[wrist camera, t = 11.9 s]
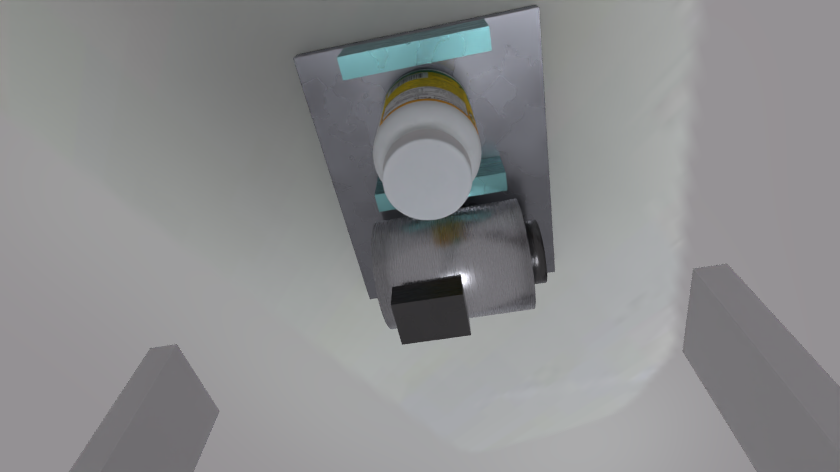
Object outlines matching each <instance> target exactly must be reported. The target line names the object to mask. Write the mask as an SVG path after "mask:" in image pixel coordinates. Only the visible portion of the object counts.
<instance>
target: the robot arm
mask: <svg viewBox="0 0 840 472" xmlns="http://www.w3.org/2000/svg"><path fill="white" fill-rule="evenodd" d="M683 353H684V354H685V356H686V358H687V359H688V361H689V362H690V364H691V366H692V367H693V369H694V371H695V372H696V374H697V376H698V377H699V379H700V380H701V382H702V384H703V385H704V387H705V389H706V390H707V392H708V393H709V395H710V397H711V398H712V400H713V401H714V403H715V405H716V406H717V408H718V410H719V411H720V413H721V414H722V416H723V418H724V419H725V421H726V423H727V424H728V426H729V427H730V429H731V431H732V432H733V434H734V436H735V437H736V439H737V440H738V442H739V444H740V445H741V447H742V449H743V450H744V452H745V453H746V455H747V457H748V458H749V460H750V462H751V463H752V465H753V466H754V468H755V470H756V471H757V472H840V387H839V385H838V384H837V383H836V382H835V381H834V380H833V379H832V378H831V377H830V376H829V374H828V373H827V372H826V371H825V370H824V369H823V368H822V367H821V366H820V365H819V364H818V362H817V361H816V360H815V359H814V358H813V357H812V356H811V355H810V354H809V353H808V352H807V350H806V349H805V348H804V347H803V346H802V345H801V344H800V343H799V342H798V341H797V339H796V338H795V337H794V336H793V335H792V334H791V333H790V332H789V331H788V330H787V329H786V327H785V326H784V325H783V324H782V323H781V322H780V321H779V320H778V319H777V318H776V316H775V315H774V314H773V313H772V312H771V311H770V310H769V309H768V308H767V307H766V306H765V305H764V303H763V302H762V301H761V300H760V299H759V298H758V297H757V296H756V295H755V293H754V292H753V291H752V290H751V289H750V288H749V287H748V286H747V285H746V284H745V283H744V281H743V280H742V279H741V278H740V277H739V276H738V275H737V274H736V273H735V272H734V271H733V269H732V268H731V267H730V266H729V265H728V264H721V265H715V266H708V267H701V268H694V269H693V273H692V281H691V289H690V297H689V305H688V313H687V320H686V328H685V336H684V344H683ZM218 413H219V409H218V408H217V406H216V405H215V403H214V402H213V400H212V399H211V397H210V395H209V394H208V392H207V391H206V389H205V388H204V386H203V384H202V383H201V381H200V380H199V378H198V377H197V375H196V373H195V372H194V370H193V369H192V367H191V366H190V364H189V362H188V361H187V359H186V358H185V356H184V355H183V353H182V351H181V350H180V348H179V347H178V345H177V344H175V345H169V346H162V347H155V348H150V350H149V351H148V352H147V354H146V356H145V357H144V359H143V360H142V362H141V363H140V365H139V366H138V368H137V369H136V371H135V372H134V374H133V375H132V377H131V378H130V380H129V381H128V383H127V385H126V386H125V387H124V389H123V391H122V392H121V394H120V395H119V397H118V398H117V400H116V401H115V403H114V404H113V406H112V407H111V409H110V410H109V412H108V414H107V415H106V416H105V418H104V419H103V421H102V422H101V424H100V426H99V427H98V429H97V430H96V432H95V433H94V435H93V436H92V438H91V439H90V441H89V442H88V444H87V445H86V447H85V449H84V450H83V451H82V453H81V454H80V456H79V458H78V459H77V461H76V462H75V464H74V465H73V467H72V468H71V470H70V471H69V472H194V470H195V467H196V465H197V463H198V460H199V458H200V456H201V453H202V451H203V448H204V446H205V444H206V442H207V439H208V437H209V435H210V432H211V430H212V428H213V425H214V423H215V420H216V418H217V416H218Z"/></svg>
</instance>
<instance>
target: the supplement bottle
mask: <svg viewBox="0 0 840 472" xmlns="http://www.w3.org/2000/svg"><path fill="white" fill-rule="evenodd" d="M373 160H374V165H375V169H376V172H377V174H378V176H379V178H380V180H381V181H382V183H383V188H384V192H385V194H386V196H387V198H388V200H389V201H390V203H391V204H392V205H393V206H394V207H395V208H396V209H397V210H398V211H400V212H401V213H403V214H404V215H406V216H409V217H411V218H414V219H419V220H436V219H441V218H444V217H446V216H448V215H450V214H452V213H454V212H455V211H457V210H458V209H459V208H460V207H461V206H462V205H463V204H464V202H465V201H466V199H467V198H468V196H469V193H470V190H471V187H472V182H473V180H474V179H475V177H476V175H477V173H478V170H479V167H480V162H481V143H480V138H479V134H478V130H477V127H476V123H475V119H474V116H473V112H472V108H471V105H470V102H469V99H468V96H467V94H466V92H465V90H464V88H463V87H462V85H461V84H460V83H459V82H458V81H457V80H456V79H455V78H454V77H452V76H451V75H449V74H447V73H445V72H442V71H439V70H435V69H419V70H415V71H411V72H409V73H407V74H405V75H403V76H402V77H400V78H399V79H398V80H397V81H396V82H395V83H394V84H393V85H392V86H391V87H390V89H389V90H388V92H387V94H386V97H385V99H384V103H383V107H382V112H381V116H380V120H379V124H378V128H377V132H376V136H375V140H374V145H373Z"/></svg>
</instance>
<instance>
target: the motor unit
mask: <svg viewBox="0 0 840 472" xmlns="http://www.w3.org/2000/svg"><path fill="white" fill-rule="evenodd" d="M293 60H294V63H295V66H296V69H297V72H298V75H299V78H300V82H301V85H302V88H303V91H304V94H305V97H306V100H307V103H308V107H309V110H310V113H311V116H312V119H313V122H314V125H315V128H316V132H317V135H318V138H319V141H320V144H321V147H322V150H323V153H324V157H325V160H326V163H327V166H328V169H329V172H330V175H331V178H332V182H333V185H334V188H335V191H336V194H337V197H338V200H339V203H340V207H341V210H342V213H343V216H344V219H345V222H346V225H347V228H348V232H349V235H350V238H351V241H352V244H353V247H354V250H355V254H356V257H357V260H358V263H359V266H360V269H361V272H362V275H363V279H364V282H365V285H366V288H367V291H368V294H369V297H370V299H374V298H378V300H379V304H380V308H381V311H382V314H383V317H384V319H385V322H386V324H387V325H388V327H389V328H390V329H396V328H397V329H398V332H399V335H400V339H401V342H402V344H410V343H417V342H424V341H431V340H439V339H446V338H453V337H460V336H468V335H471V331H470V322H469V318H473V317H480V316H487V315H494V314H501V313H508V312H515V311H523V310H530V309H535V304H536V297H535V284H539V283H546V282H547V273H548V272H555V265H554V248H553V232H552V215H551V198H550V181H549V165H548V148H547V131H546V114H545V97H544V81H543V64H542V47H541V30H540V14H539V7H538V6H536V5H533V6H529V7H524V8H519V9H514V10H509V11H505V12H500V13H495V14H490V15H485V16H481V17H476V18H471V19H466V20H461V21H457V22H452V23H447V24H442V25H438V26H433V27H428V28H423V29H418V30H414V31H409V32H404V33H399V34H394V35H390V36H385V37H380V38H375V39H370V40H366V41H361V42H356V43H351V44H347V45H342V46H337V47H332V48H327V49H323V50H318V51H313V52H308V53H303V54H299V55H296V56H295V57H294V58H293ZM419 69H435V70H439V71H442V72H445V73H447V74H449V75H451V76H452V77H454V78H455V79H456V80H457V81H458V82H459V83H460V84H461V85H462V87H463V88H464V90H465V92H466V94H467V96H468V99H469V102H470V105H471V108H472V112H473V116H474V119H475V123H476V127H477V130H478V134H479V138H480V143H481V162H480V167H479V170H478V173H477V175H476V177H475V179H474V180H473V182H472V187H471V190H470V193H469V196H468V198H467V199H466V201H465V202H464V204H463V205H462V206H461V207H460V208H459V209H458V210H457V211H455V212H454V213H452V214H450V215H448V216H446V217H444V218H441V219H436V220H419V219H414V218H411V217H409V216H406V215H404V214H403V213H401V212H400V211H398V210H397V209H396V208H395V207H394V206H393V205H392V204H391V203H390V201H389V200H388V198H387V196H386V194H385V192H384V188H383V183H382V181H381V180H380V178H379V176H378V174H377V172H376V169H375V165H374V160H373V145H374V140H375V136H376V132H377V128H378V124H379V120H380V116H381V112H382V107H383V103H384V99H385V97H386V94H387V92H388V90H389V89H390V87H391V86H392V85H393V84H394V83H395V82H396V81H397V80H398V79H399V78H400V77H402V76H403V75H405V74H407V73H409V72H411V71H415V70H419Z"/></svg>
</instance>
